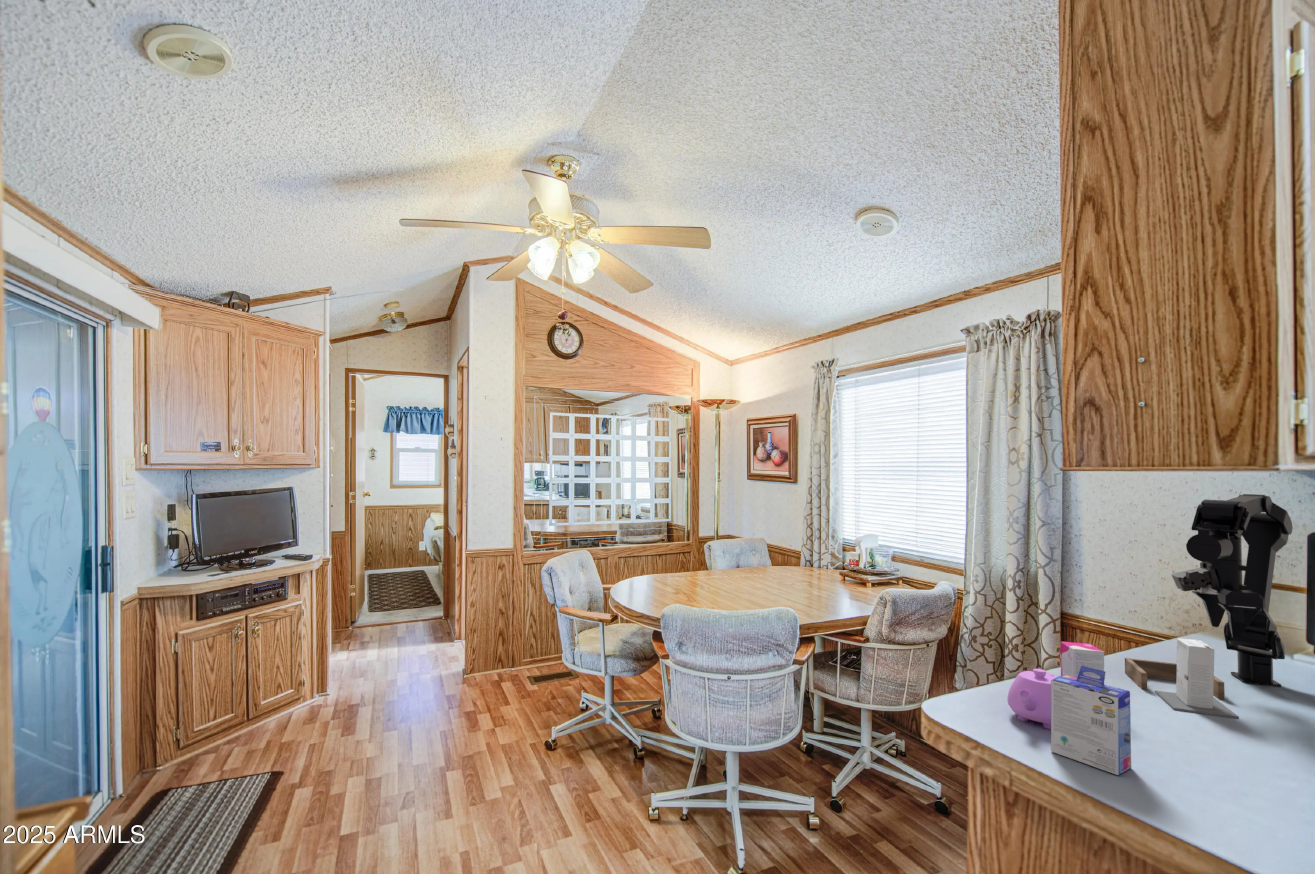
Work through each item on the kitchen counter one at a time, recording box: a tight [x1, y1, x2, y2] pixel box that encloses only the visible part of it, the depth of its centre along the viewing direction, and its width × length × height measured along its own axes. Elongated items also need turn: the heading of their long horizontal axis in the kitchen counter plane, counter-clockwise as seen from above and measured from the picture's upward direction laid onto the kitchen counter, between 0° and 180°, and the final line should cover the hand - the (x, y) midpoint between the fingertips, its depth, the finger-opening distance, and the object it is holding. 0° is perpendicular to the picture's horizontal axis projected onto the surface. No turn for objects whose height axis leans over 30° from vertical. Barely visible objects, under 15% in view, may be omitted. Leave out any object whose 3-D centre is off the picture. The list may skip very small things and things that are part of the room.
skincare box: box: [1175, 637, 1215, 709], centre depth 123 cm, size 6×4×12 cm
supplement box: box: [1060, 641, 1105, 679], centre depth 123 cm, size 6×6×12 cm
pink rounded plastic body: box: [1007, 668, 1058, 730], centre depth 114 cm, size 10×15×9 cm
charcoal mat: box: [1154, 690, 1240, 719], centre depth 123 cm, size 10×10×1 cm
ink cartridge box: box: [1050, 666, 1132, 776], centre depth 99 cm, size 10×6×14 cm, turn 36°
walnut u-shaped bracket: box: [1124, 657, 1226, 701], centre depth 133 cm, size 11×14×4 cm
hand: (1225, 631), depth 129 cm, fingers open, 9 cm apart
